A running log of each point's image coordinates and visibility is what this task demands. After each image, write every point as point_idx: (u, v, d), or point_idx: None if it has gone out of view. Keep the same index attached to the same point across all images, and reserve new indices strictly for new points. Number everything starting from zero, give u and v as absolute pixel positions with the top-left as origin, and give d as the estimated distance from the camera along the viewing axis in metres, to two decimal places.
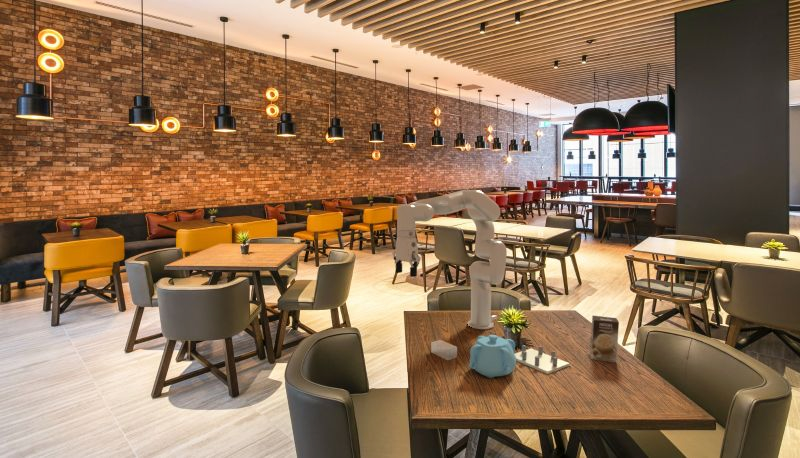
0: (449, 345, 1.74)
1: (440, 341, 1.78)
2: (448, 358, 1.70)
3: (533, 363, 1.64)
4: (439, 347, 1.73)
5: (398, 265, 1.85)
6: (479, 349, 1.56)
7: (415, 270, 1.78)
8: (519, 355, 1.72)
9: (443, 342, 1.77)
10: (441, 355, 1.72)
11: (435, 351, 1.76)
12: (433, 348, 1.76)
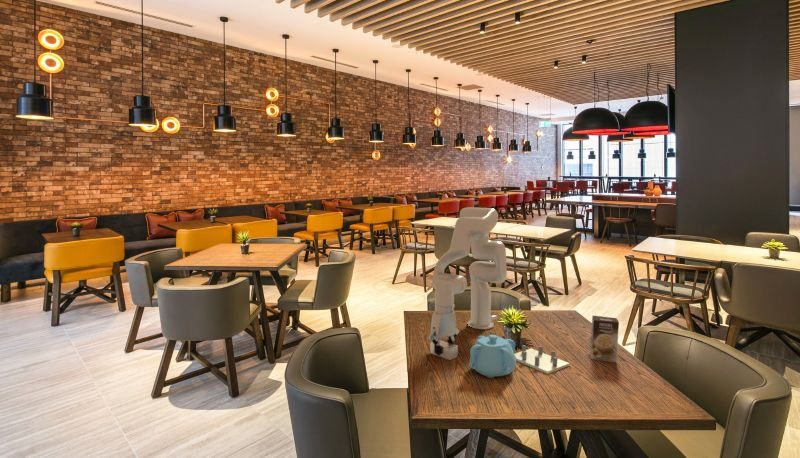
0: (449, 344, 1.74)
1: None
2: (450, 357, 1.70)
3: (533, 363, 1.64)
4: None
5: None
6: (479, 349, 1.56)
7: None
8: (519, 355, 1.72)
9: (442, 342, 1.77)
10: (442, 355, 1.72)
11: None
12: (432, 348, 1.75)
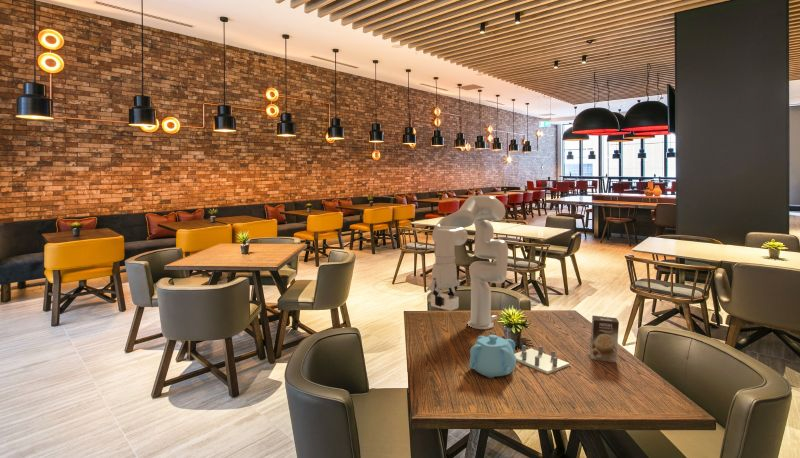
0: (450, 296, 1.72)
1: None
2: (451, 308, 1.68)
3: (533, 363, 1.64)
4: (441, 298, 1.71)
5: None
6: (479, 349, 1.56)
7: None
8: (519, 355, 1.72)
9: (442, 294, 1.75)
10: (443, 306, 1.70)
11: None
12: (433, 301, 1.74)
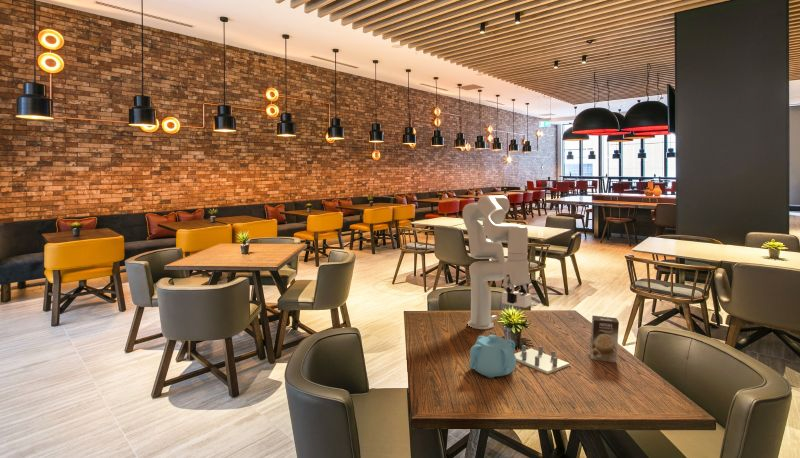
0: (522, 293, 1.72)
1: None
2: (525, 305, 1.68)
3: (533, 363, 1.64)
4: None
5: None
6: (479, 349, 1.56)
7: None
8: (519, 355, 1.72)
9: (514, 291, 1.75)
10: (516, 303, 1.70)
11: None
12: (505, 298, 1.73)
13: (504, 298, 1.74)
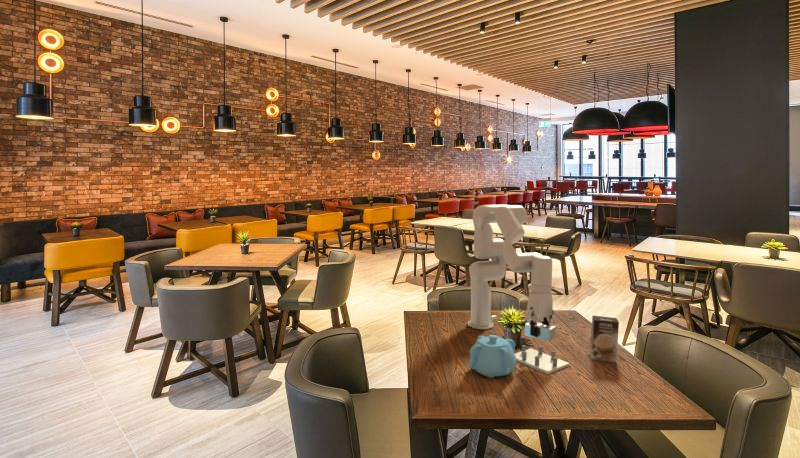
0: (546, 325, 1.66)
1: None
2: (550, 338, 1.62)
3: (533, 363, 1.64)
4: None
5: None
6: (479, 349, 1.56)
7: None
8: (519, 355, 1.72)
9: None
10: (540, 336, 1.64)
11: None
12: (528, 330, 1.67)
13: (527, 330, 1.68)
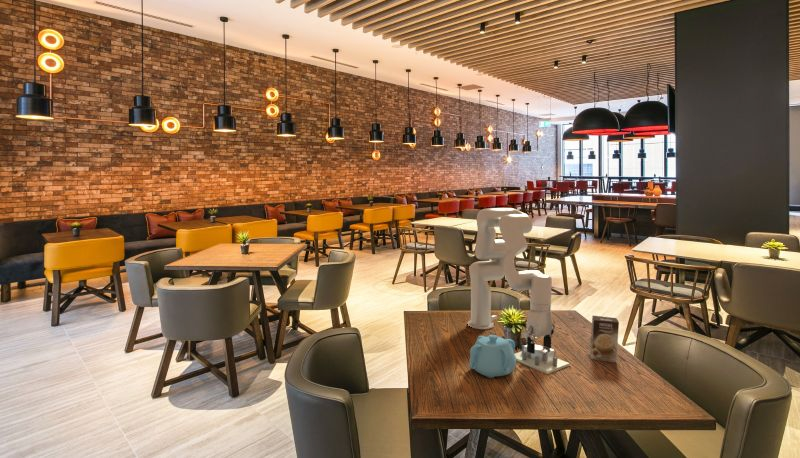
0: (545, 348, 1.67)
1: None
2: (548, 362, 1.63)
3: (533, 363, 1.64)
4: (535, 351, 1.66)
5: None
6: (479, 349, 1.56)
7: None
8: (519, 355, 1.72)
9: (536, 345, 1.70)
10: None
11: (529, 355, 1.68)
12: None
13: None
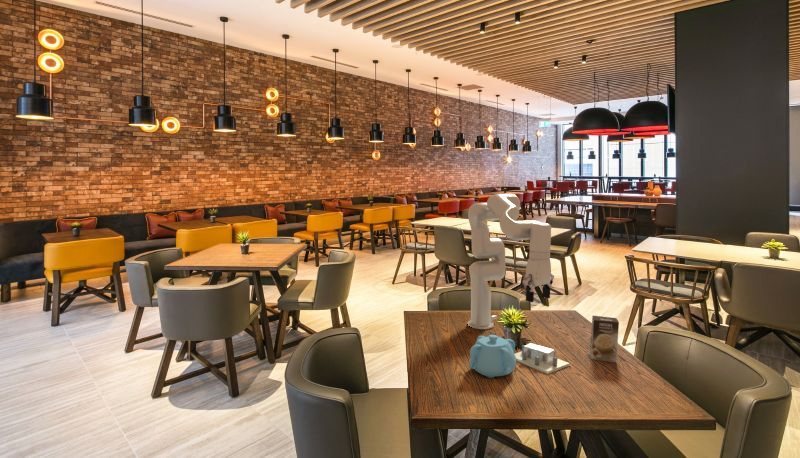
0: (545, 348, 1.67)
1: (532, 344, 1.71)
2: (548, 362, 1.63)
3: (533, 363, 1.64)
4: (535, 351, 1.66)
5: None
6: (479, 349, 1.56)
7: None
8: (519, 355, 1.72)
9: (536, 345, 1.70)
10: None
11: (529, 355, 1.68)
12: None
13: None
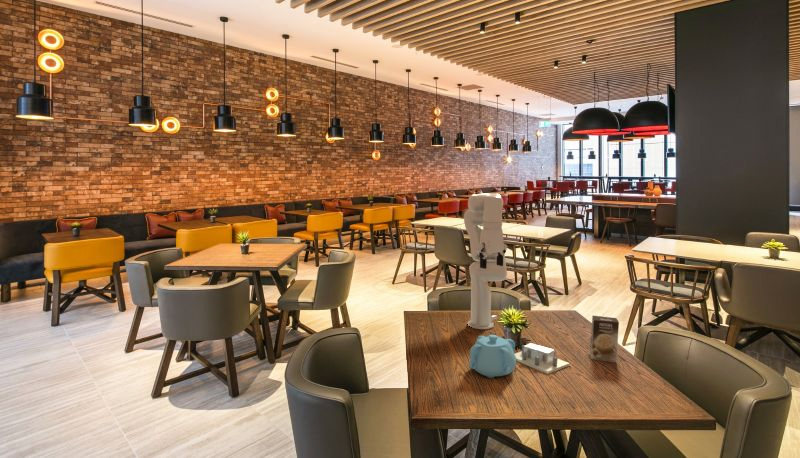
0: (545, 348, 1.67)
1: (532, 344, 1.71)
2: (548, 362, 1.63)
3: (533, 363, 1.64)
4: (535, 351, 1.66)
5: None
6: (479, 349, 1.56)
7: None
8: (519, 355, 1.72)
9: (536, 345, 1.70)
10: None
11: (529, 355, 1.68)
12: None
13: None
